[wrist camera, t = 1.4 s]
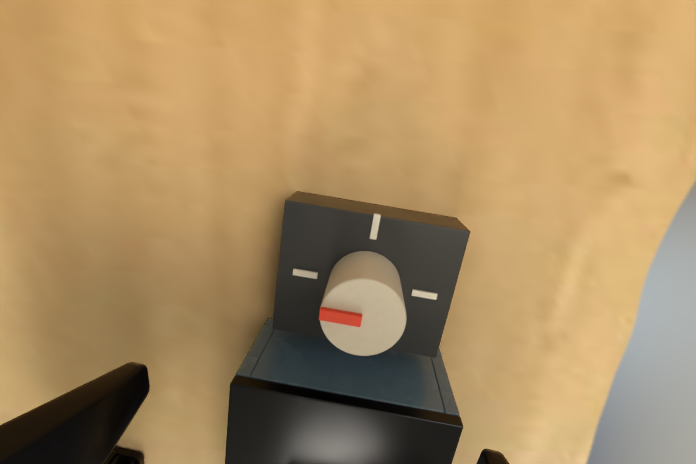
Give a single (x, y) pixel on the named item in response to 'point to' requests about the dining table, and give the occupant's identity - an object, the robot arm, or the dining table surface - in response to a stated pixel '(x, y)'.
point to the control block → (376, 236)
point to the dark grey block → (349, 371)
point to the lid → (331, 428)
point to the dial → (363, 304)
